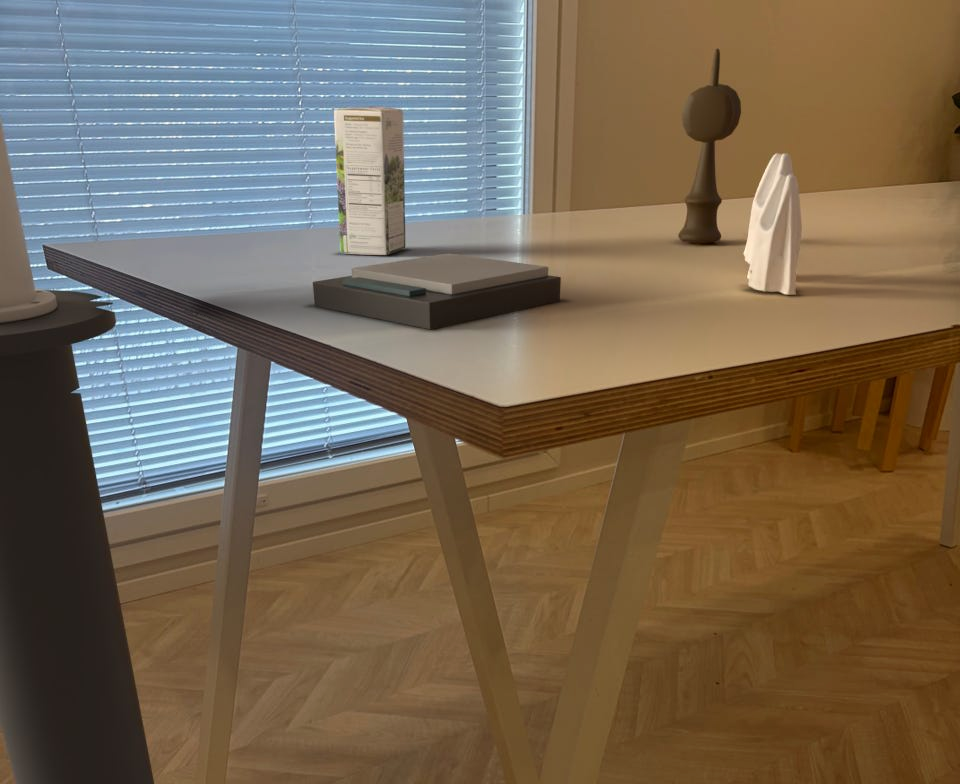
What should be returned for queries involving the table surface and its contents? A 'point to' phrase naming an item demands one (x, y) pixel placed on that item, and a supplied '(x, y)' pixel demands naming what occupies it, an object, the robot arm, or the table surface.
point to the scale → (438, 290)
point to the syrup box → (370, 179)
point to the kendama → (707, 152)
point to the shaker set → (775, 229)
